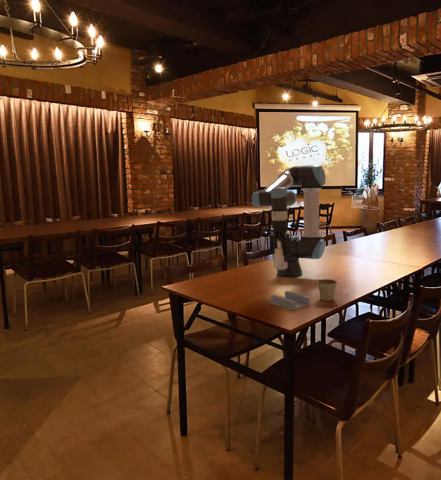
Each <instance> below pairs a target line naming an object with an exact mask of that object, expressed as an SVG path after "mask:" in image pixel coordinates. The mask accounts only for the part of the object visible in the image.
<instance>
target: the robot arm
mask: <svg viewBox="0 0 441 480" xmlns="http://www.w3.org/2000/svg"><path fill="white" fill-rule="evenodd" d="M325 184H326V172H325V169H324V167H323V166H322V165H320V164H308V165H295V166H292V167H288V168H287V169H285V170H283V171H282V172H281V173H280V174H279V175H278V176H277V178H276V179H275V180H274V181H272V182H271V183H270V184H269V185H268V186H266V187H265V188H264V189H262V190H261V191H254V192H253V193H252V195H251V203H252V205H253V206H254V207H271V228H272V230H271V231H268V232H267V234H268V238H269V242H268V245H269V246H268V247H269V249H268V250H269V252H270V253H272V260H273V267H274V268H275V248H277V239H280V242H281V245H282V250H283V255H282V269H285V268H286V269H285V270H276V275H277V276H279V277H282V278H283V277H284V278H294V277H295V278H296V277H300V276H302V275H303V270H302V268H301V267H302V266H301V263H300V259H310V260H320V259H321V258H322V257H323V255H324V252H325V248H326V241H325V240H324V238H322V234H320V231H319V230H320V191H321V190H322V188H323V186H324V185H325ZM291 187H301V189H300V190H301V191H303V234H301V235H300V237H299V236H298V235H293V233H292V232H291V233H289V232H288V229H287V228H288V227H289V226H288V221H289V220H288V207H291V206H293V205H295V203H297V199H298V196H297V194H296V192H294V191H293V190H288V189H289V188H291Z"/></svg>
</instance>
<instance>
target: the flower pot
mask: <svg viewBox="0 0 441 480" xmlns="http://www.w3.org/2000/svg"><path fill="white" fill-rule="evenodd" d="M316 283H317V285H318V290H319V297H320V298H319V299H320V300H322V301H324V302H330V301H334V300H335V299H334V298H335V293H336V287H337V284H338V281H337V280H335V279H328V278H325V279H324V278H322V279H319V280H317V281H316Z"/></svg>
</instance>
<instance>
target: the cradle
mask: <svg viewBox="0 0 441 480" xmlns="http://www.w3.org/2000/svg"><path fill="white" fill-rule="evenodd" d="M310 299H311V297H310V296H307V295H304V294H300V293H297V292H292V291H288V290H285V291H284V297H283V296H279V295H276V294H272V295H270V304H271V305H274V306H278V307H281V308H284V309H287V310H291V311H296V310H299V309H301V308H304V307H308V306H310V305H311V304H310V303H311V302H310V301H311V300H310Z"/></svg>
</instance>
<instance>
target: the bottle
mask: <svg viewBox="0 0 441 480" xmlns="http://www.w3.org/2000/svg"><path fill="white" fill-rule="evenodd" d="M282 255H283V250H282V245H281V242H280V239H277V248H275V267H274V269H275V270H276V271H277V270H285V269H286V268H285V269H282Z"/></svg>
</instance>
